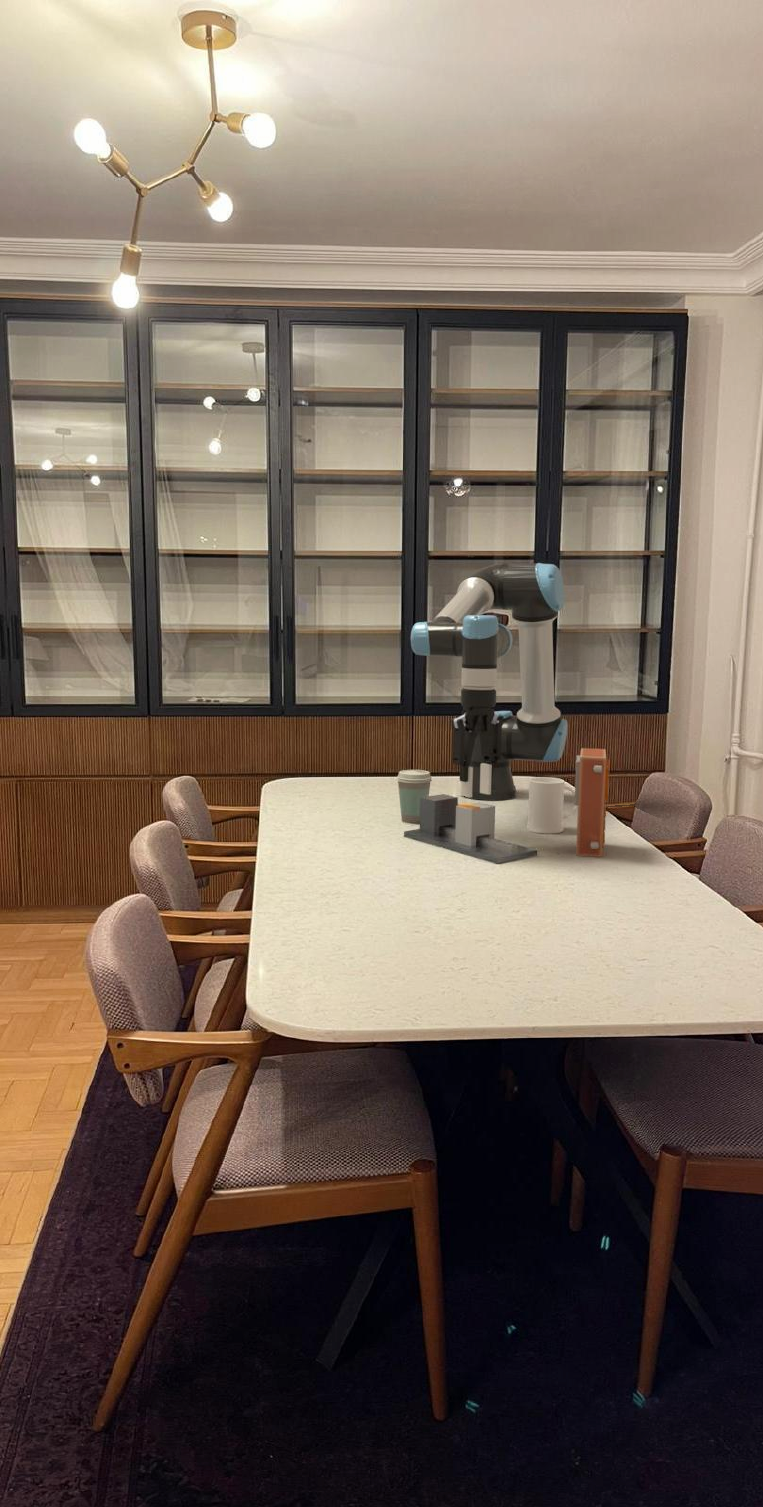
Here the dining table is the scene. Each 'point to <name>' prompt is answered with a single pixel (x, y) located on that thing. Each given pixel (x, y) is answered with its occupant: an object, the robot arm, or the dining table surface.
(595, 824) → the control panel
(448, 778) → the dining table surface
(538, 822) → the mug
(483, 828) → the module
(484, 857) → the rail board
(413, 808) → the coffee cup
